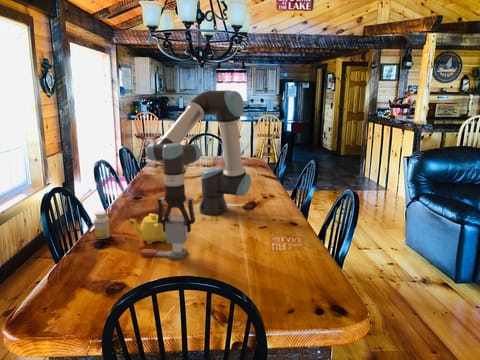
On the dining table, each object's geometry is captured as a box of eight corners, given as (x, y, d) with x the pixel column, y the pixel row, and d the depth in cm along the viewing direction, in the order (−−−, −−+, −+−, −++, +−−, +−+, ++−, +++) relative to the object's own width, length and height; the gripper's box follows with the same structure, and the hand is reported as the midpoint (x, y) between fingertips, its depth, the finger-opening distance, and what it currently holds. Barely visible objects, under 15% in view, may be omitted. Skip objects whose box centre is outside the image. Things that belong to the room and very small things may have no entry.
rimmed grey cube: (171, 236, 154) (170, 215, 152) (188, 236, 154) (187, 215, 151) (166, 243, 148) (165, 221, 145) (184, 243, 147) (183, 222, 145)
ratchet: (145, 250, 157) (144, 236, 155) (187, 251, 155) (186, 237, 154) (139, 258, 150) (138, 243, 148) (183, 259, 149) (183, 244, 147)
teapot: (149, 232, 177) (147, 208, 174) (175, 235, 172) (174, 211, 169) (130, 243, 164) (128, 218, 161) (159, 248, 159) (157, 221, 156)
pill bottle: (107, 232, 176) (104, 209, 173) (113, 236, 172) (110, 212, 169) (93, 236, 172) (90, 212, 169) (99, 240, 167) (96, 216, 164)
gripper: (145, 186, 142) (150, 242, 148) (198, 187, 140) (200, 243, 146) (152, 181, 149) (155, 235, 155) (201, 181, 147) (204, 236, 153)
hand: (177, 239), depth 150 cm, fingers closed on rimmed grey cube, 7 cm apart
